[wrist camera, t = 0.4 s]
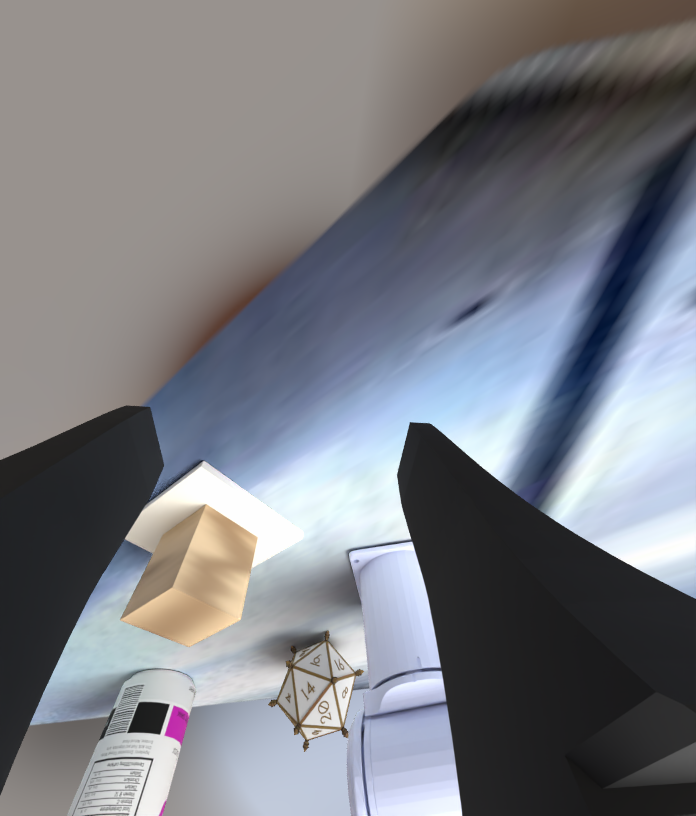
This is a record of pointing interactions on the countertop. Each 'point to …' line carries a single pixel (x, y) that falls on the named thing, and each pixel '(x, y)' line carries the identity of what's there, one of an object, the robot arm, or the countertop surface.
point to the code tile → (224, 498)
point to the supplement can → (138, 747)
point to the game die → (317, 691)
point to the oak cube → (194, 579)
